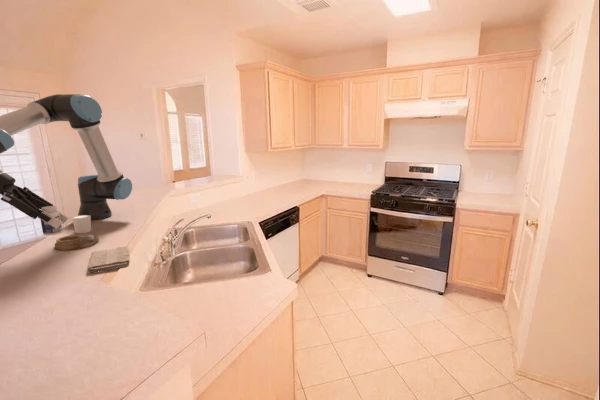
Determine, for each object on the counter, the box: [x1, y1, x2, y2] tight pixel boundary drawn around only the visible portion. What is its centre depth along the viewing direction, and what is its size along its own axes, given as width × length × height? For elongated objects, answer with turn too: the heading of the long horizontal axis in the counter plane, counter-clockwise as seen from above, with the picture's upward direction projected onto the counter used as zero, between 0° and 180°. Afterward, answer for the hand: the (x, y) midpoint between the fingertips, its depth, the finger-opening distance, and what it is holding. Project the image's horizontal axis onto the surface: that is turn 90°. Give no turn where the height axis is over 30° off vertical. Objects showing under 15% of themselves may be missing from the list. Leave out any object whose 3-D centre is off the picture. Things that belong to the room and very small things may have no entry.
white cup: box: [71, 215, 92, 234], centre depth 131 cm, size 7×7×7 cm
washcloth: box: [86, 246, 131, 274], centre depth 100 cm, size 12×18×3 cm, turn 33°
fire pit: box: [54, 234, 99, 251], centre depth 115 cm, size 14×14×3 cm
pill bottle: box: [40, 205, 63, 236], centre depth 102 cm, size 5×5×10 cm
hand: (62, 223), depth 104 cm, fingers closed on pill bottle, 5 cm apart
